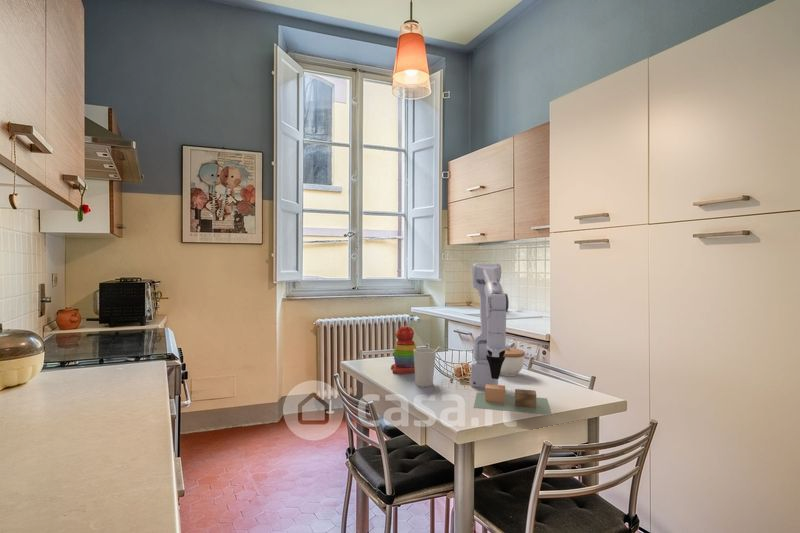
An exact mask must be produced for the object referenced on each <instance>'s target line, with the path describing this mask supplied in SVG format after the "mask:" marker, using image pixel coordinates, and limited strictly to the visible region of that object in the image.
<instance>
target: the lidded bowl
mask: <svg viewBox="0 0 800 533" xmlns="http://www.w3.org/2000/svg"><path fill="white" fill-rule="evenodd" d="M508 346H509V350H505V354H504V356H503V357H505V360H504V362H503V364H502V367H501V371H500V376H505V377H516V376H518V374H519V373H520V372H521V371H522V369H523V367H524V364H525V356H526V354H525V353H526V352H525V351H524V350H523V349H519V348H513V347H511V346H510V345H508Z"/></svg>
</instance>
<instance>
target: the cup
mask: <svg viewBox="0 0 800 533" xmlns="http://www.w3.org/2000/svg"><path fill="white" fill-rule="evenodd" d="M436 353H437V350H436V349H433V348H427V347H426V348H425V347H424V348H423V347H421V348H418V347H417V349H414V366H415V372H414V380H415V382H414V384H415V386H418V387H423V386H427V387H433V385H434V374H435V365H436V364H435V363H436V356H437V354H436Z"/></svg>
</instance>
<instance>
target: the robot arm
mask: <svg viewBox="0 0 800 533" xmlns="http://www.w3.org/2000/svg"><path fill="white" fill-rule="evenodd" d="M471 270H472V271H471V272H472V275H471V276H472V286H473V288H474V289H476V290H477V291H478V296H479V315H480V334H478V335H477V336H475V338H474V339H473V348H472V354H473V360H472V361H471V365H470V366H471V367H470V387H472V388H473V387H474V388H475V387H476V388H483V389H485V386H486V384H491V385H499V379H500V376H501V375H500V371H501V367H502V364H503V362H504V360H505V357H503V356H504V354H505V350H509V346H510V345H506V343H507V342H506V341H507V338H506V337H507V313H508V310H509V306H510V302H509V296H508V293H505V292H504V290H503V287H502V284H501V282H500V281H501V278H502V266H501V264H500V263H476V262H475V263H473V265H472V268H471Z"/></svg>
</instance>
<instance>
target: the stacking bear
mask: <svg viewBox="0 0 800 533" xmlns="http://www.w3.org/2000/svg"><path fill="white" fill-rule="evenodd" d="M414 336H415V332H414V329H413V327H411V326H407V325H403V326H401V327H399V329H397V331H396V332H395V337H396V339H397V341H396V343H395V346H394V351H393V360H394V363H393V364H391V367H390V369H391V370H392V373H393V374H396V375H406V374H412V373H414V374H415V366H414V349H418V347H417V344H416V343H415V341H414V340H413V339H414Z"/></svg>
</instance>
